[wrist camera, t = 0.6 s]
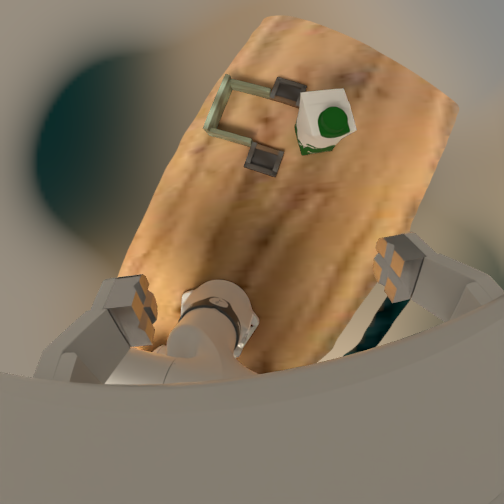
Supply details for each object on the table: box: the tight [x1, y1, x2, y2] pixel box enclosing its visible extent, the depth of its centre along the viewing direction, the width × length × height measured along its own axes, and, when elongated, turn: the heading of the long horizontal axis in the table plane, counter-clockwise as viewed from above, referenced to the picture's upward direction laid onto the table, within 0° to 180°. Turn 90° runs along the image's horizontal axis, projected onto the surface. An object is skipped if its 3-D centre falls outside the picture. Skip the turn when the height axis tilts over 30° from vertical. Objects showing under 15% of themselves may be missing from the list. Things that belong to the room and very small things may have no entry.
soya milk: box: [295, 88, 357, 155], centre depth 45 cm, size 9×9×20 cm
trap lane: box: [203, 74, 307, 177], centre depth 53 cm, size 23×17×6 cm
